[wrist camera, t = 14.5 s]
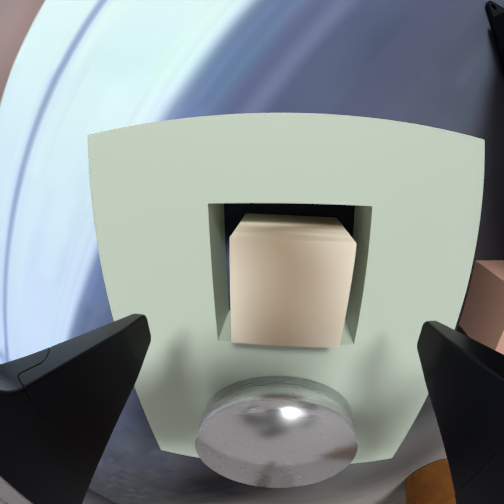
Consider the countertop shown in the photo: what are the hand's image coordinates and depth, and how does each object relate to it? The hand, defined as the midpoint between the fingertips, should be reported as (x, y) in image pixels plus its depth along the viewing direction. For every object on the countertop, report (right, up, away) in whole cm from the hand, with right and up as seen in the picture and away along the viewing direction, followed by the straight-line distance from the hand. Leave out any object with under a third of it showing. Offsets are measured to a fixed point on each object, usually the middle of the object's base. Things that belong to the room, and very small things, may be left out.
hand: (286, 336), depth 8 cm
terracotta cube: (+15, 0, +6) cm, 16 cm away
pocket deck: (+1, -2, +8) cm, 8 cm away
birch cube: (+1, +2, +7) cm, 7 cm away
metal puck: (+1, -8, +7) cm, 10 cm away
